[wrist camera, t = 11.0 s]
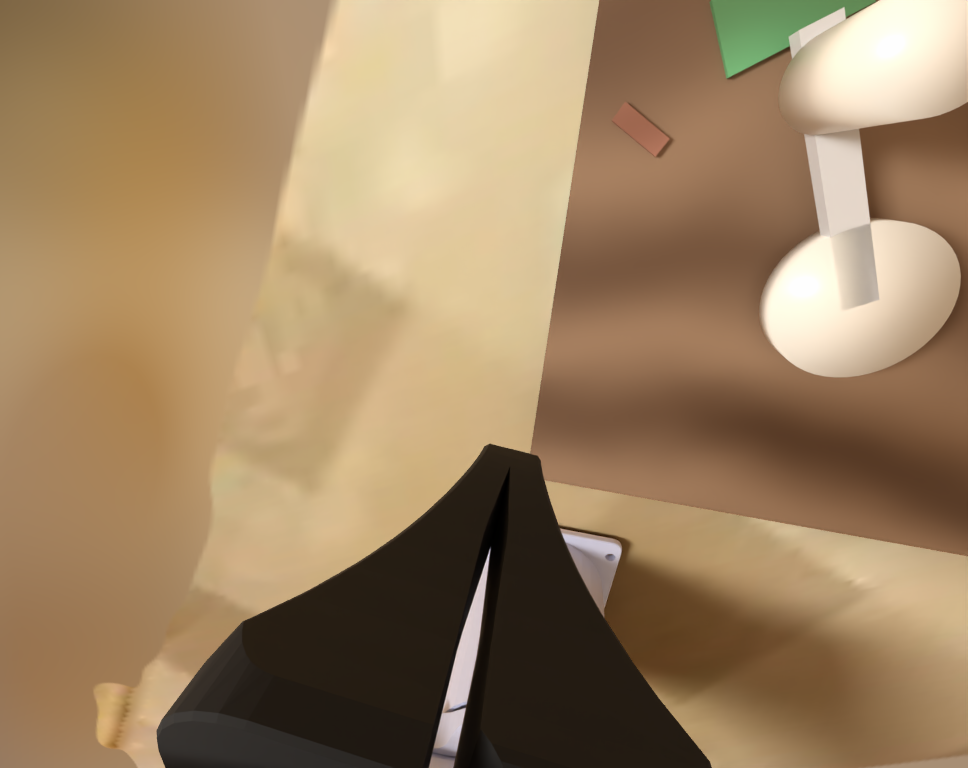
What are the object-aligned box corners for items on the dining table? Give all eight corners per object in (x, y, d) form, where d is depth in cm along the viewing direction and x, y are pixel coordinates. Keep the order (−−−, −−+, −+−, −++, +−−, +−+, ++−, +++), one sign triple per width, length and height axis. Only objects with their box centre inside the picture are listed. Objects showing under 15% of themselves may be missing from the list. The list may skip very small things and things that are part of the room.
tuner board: (950, 531, 19) (981, 561, 18) (529, 458, 22) (526, 479, 20) (1425, -84, 10) (1571, -128, 9) (613, -89, 13) (618, -124, 11)
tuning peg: (940, 337, 14) (1102, 411, 10) (773, 383, 16) (849, 463, 12) (914, -27, 11) (1145, -162, 7) (705, 79, 13) (776, 30, 8)
